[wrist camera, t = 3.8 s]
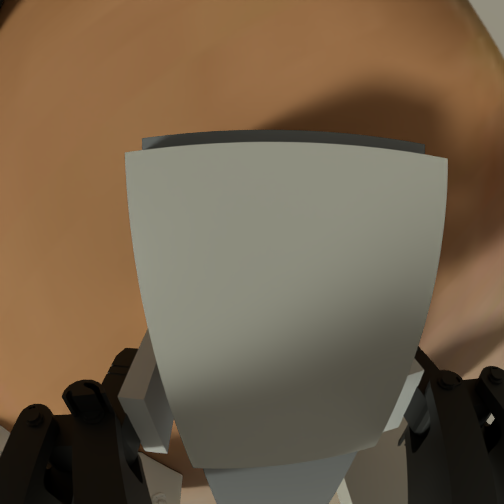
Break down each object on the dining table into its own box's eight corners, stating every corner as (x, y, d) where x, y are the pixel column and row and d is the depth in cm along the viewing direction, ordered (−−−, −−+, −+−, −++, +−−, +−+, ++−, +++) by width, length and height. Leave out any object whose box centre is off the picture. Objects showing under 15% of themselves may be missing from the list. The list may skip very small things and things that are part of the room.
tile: (321, 410, 15) (365, 544, 6) (440, 379, 16) (506, 466, 6) (317, 429, 16) (353, 550, 7) (431, 398, 17) (488, 482, 7)
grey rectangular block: (203, 157, 11) (124, 135, 3) (303, 155, 11) (447, 144, 3) (225, 409, 15) (226, 536, 7) (292, 405, 15) (321, 526, 7)
